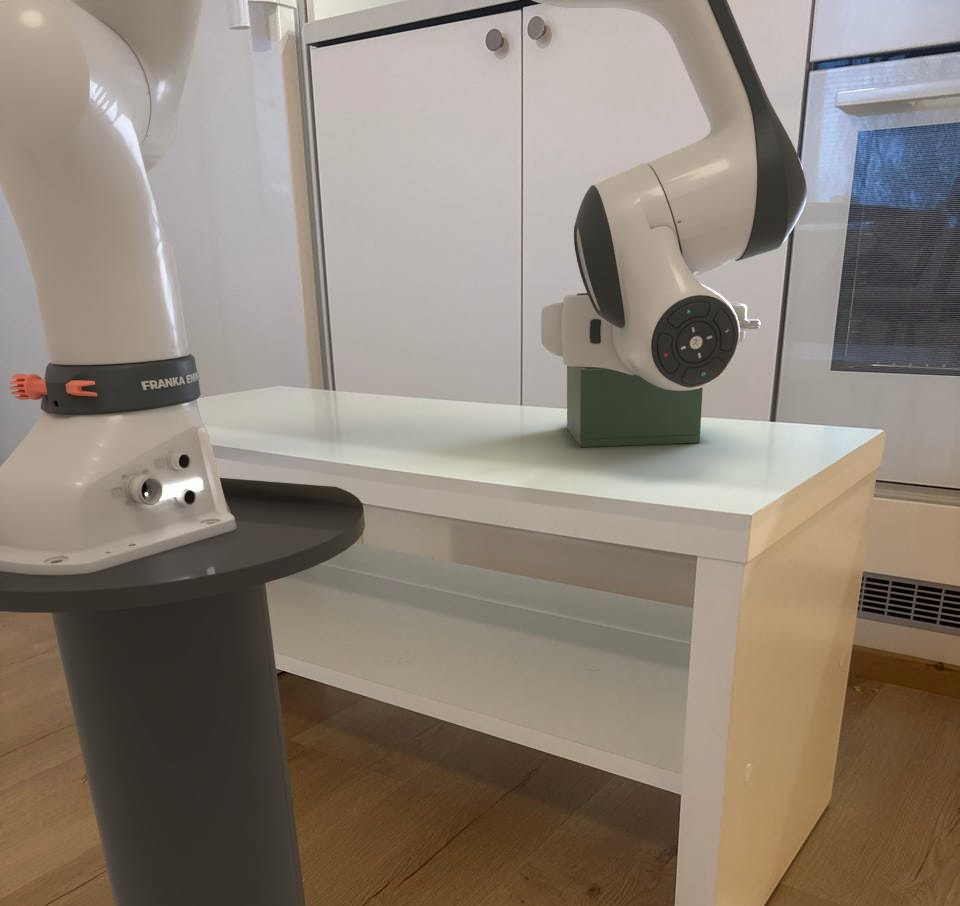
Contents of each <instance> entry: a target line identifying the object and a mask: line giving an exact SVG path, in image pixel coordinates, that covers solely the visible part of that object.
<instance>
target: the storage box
mask: <svg viewBox="0 0 960 906" xmlns="http://www.w3.org/2000/svg"><path fill="white" fill-rule="evenodd" d="M703 388H704V387H702V388H699V389H695V390H688V391H672V390H666V389H662V388H659V387H657V386H655V385H653V384H651V383H649V382H647V381H646V380H644V379H643V378H641V377H640V376H638V375H636V374H635V375H629V374H626V373H623V372H619V371H616V370H611V369H598V368H581V367H574V366H567V365H566V428H567V430H568V431H569V433H570V434H571V435H572V437H573V438H574V440H575V441H576V443H577V444H578V446H579V447H580V448H591V447H592V448H594V447H595V448H596V447H618V446H619V447H620V446H622V447H623V446H645V445H646V446H647V445H672V444H675V445H676V444H698V443H699V444H700V443H701V428H702V427H701V425H702V409H703V407H702V406H703V391H704V390H703Z"/></svg>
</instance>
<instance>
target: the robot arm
mask: <svg viewBox="0 0 960 906" xmlns="http://www.w3.org/2000/svg"><path fill="white" fill-rule="evenodd" d="M531 1H533V2H535V3H537V4H540V5H541V4H542V5H545V6H550V7H556V8H564V9H621V10H628V11H633V12H636V13H640V14H643V15H645V16H648V17H649V18H652V19H653V20H655V21H656V22H658V23H659V24H660V25H661V26H662V27H663V28H664V29H665V30H666V32H667V33H668V35H669V36H670V38H671V40H672V42H673V44H674V46H675V48H676V50H677V53H678V56H679V57H680V60H681V62H682V65H683V66H684V69H685V71H686V73H687V75H688V77H689V79H690V83H691V84H692V86H693V89H694V91H695V93H696V96H697V98H698V100H699V102H700V105H701V107H702V109H703V111H704V113H705V116H706V118H707V121H708V123H709V127H710V130H709V133H708V134H707V135H706V136H705V137H703V138H702V139H700V140H698V141H696V142H693V143H691V144H689V145H686V146H684V147H681V148H679V149H676V150H675V151H672V152H669V153H667V154H665V155H662V156H659V157H658V158H655V159H653V160H651V161H648V162H644V163H641V164H638V165H637V166H634V167H631V168H629V169H626V170H624V171H622V172H619V173H617V174H615V175H613V176H611V177H608V178H605V179H604V180H603V179H602V180H601V181H599V182H597V183H594V184H591V185H590V187H589V188H588V189H587V191H586V193H585V194H584V196H583V198H582V201H581V202H580V206H579V208H578V212H577V214H576V217H575V218H576V219H575V221H574V225H573V244H574V245H573V246H574V252H575V257H576V262H577V266H578V270H579V274H580V277H581V281H582V283H583V286H584V288H585V291H586V292H581V293H580V292H579V293H576V294H568V295H565V296H564V297H563V301H560V302H556V303H551V304H548V305H545V306H543V307H542V308H541V314H540V336H541V337H540V338H541V339H540V340H541V344H542V346H543V347H544V348H545V350H547V351H548V352H549V353H551V354H552V355H555V356H558V357H562V361H563V364H564V365H565V366H566V367H567V366H574V367H581V368H598V369H611V370H616V371H619V372H623V373H626V374H629V375H635V374H636V375H638V376H640V377H641V378H643V379H644V380H646V381H647V382H649V383H651V384H653V385H655V386H657V387H659V388H662V389H666V390H672V391H688V390H695V389H699V388H702V387H703V388H704V387H706V386H708V385H710V384H711V383H713V382H715V381H716V380H717V379H718V378H719V377H721V376H722V375H723V374H724V373H725V371H727V370H728V368H729V367H730V365H731V364H732V362H733V360H734V358H735V356H736V355H737V352H738V348H739V344H740V343H743V342H744V341H745V338H746V332H747V331H749V330H759V329H760V326H761V320H760V319H757V318H748V317H747V315H748V314H747V312H748V306H747V305H746V304H744V303H742V302H739V301H728V300H727V299H726V298H725V297H724V296H722V294H721V293H719V292H717V291H716V290H714V289H713V288H711V287H709V286H707V285H705V284H703V283H702V282H701V281H700V280H699V279H698V278H697V276H699V275H702V274H705V273H707V272H710V271H712V270H714V269H718V268H719V267H721V266H724V265H727V264H729V263H731V262H734V261H735V262H739V261H742V260H745V259H749V258H752V257H755V256H759V255H763V254H766V253H768V252H772V251H775V250H778V249H779V248H781V247H782V245H783V244H784V243H785V241H786V240H787V238H788V237H789V235H790V234H791V232H792V231H793V229H794V228H795V227H796V224H797V223H798V222H799V219H800V217H801V215H802V213H803V212H804V209H805V206H806V204H807V201H808V199H807V198H808V188H807V181H806V176H805V172H804V168H803V165H802V162H801V160H800V157H799V154H798V153H797V150H796V148H795V146H794V144H793V142H792V139H791V138H790V136H789V134H788V132H787V130H786V129H785V127H784V125H783V123H782V121H781V120H780V118H779V116H778V114H777V113H776V110H775V108H774V107H773V105H772V103H771V100H770V99H769V97H768V95H767V92H766V90H765V87H764V85H763V82H762V81H761V78H760V75H759V74H758V71H757V69H756V66H755V64H754V61H753V59H752V57H751V54H750V51H749V49H748V47H747V45H746V42H745V41H744V37H743V35H742V33H741V30H740V28H739V26H738V24H737V21H736V18H735V16H734V14H733V11H732V10H731V6H730V4H729V2H728V0H531ZM204 2H205V0H0V187H1V189H2V192H3V194H4V197H5V200H6V202H7V204H8V207H9V210H10V212H11V214H12V217H13V219H14V222H15V225H16V227H17V230H18V233H19V235H20V238H21V241H22V244H23V247H24V250H25V253H26V256H27V259H28V262H29V265H30V270H31V275H32V278H33V282H34V287H35V293H36V298H37V302H38V307H39V311H40V312H39V313H40V316H41V321H42V326H43V330H44V335H45V341H46V347H47V351H48V356H49V361H50V362H49V363H48V364H47V365H46V366H45V367H46V368H45V373H44V378H42V377H41V376H40V375H38V374H35V373H31V374H25V373H15V374H13V375H12V376H11V378H10V379H11V381H9V384H8V385H13V386H9V390H14V391H11V392H10V393H11V394H12V395H17V396H15V399H17V400H33V401H38V400H39V401H40V409H41V410H42V411H43V413H42V415H40V418H39V419H38V420H37V421H36V422H35V423H34V425H33V426H32V427H31V428H30V430H29V431H28V432H27V434H26V435H25V436H24V437H23V439H22V440H21V442H20V443H19V444H18V445H17V446H16V447H15V449H14V450H13V451H12V452H11V454H10V455H9V456H7V458H6V459H5V460H4V461H3V463H2V464H1V465H0V571H2V572H9V573H17V574H28V575H54V576H56V575H78V574H88V573H93V572H97V571H100V570H104V569H107V568H110V567H114V566H117V565H120V564H124V563H127V562H130V561H134V560H137V559H140V558H144V557H147V556H150V555H154V554H157V553H160V552H164V551H167V550H170V549H174V548H177V547H180V546H184V545H187V544H190V543H194V542H197V541H200V540H204V539H207V538H210V537H214V536H217V535H220V534H224V533H227V532H230V531H233V530H235V529H236V528H237V525H236V521H235V517H234V516H233V515H232V514H231V511H230V509H229V507H228V505H227V502H226V500H225V497H224V494H223V490H222V486H221V482H220V478H221V477H220V474H219V469H218V465H217V462H216V457H215V454H214V450H213V446H212V441H211V438H210V435H209V432H208V430H207V428H206V426H205V424H204V421H203V418H202V416H201V413H200V410H199V404H198V399H199V398H200V397H201V395H202V394H201V387H200V386H201V385H200V379H201V378H200V373H199V371H198V369H197V363H196V357H195V356H194V355H193V354H191V353H190V351H189V350H190V349H189V342H188V336H187V329H186V322H185V315H184V308H183V301H182V294H181V287H180V279H179V273H178V266H177V265H178V264H177V260H176V256H175V252H174V250H173V248H172V246H171V244H170V242H169V240H168V237H167V235H166V232H165V229H164V226H163V223H162V220H161V217H160V214H159V211H158V208H157V205H156V201H155V198H154V195H153V191H152V188H151V187H152V186H151V184H150V181H149V177H148V174H147V173H149V172H151V171H152V170H154V169H155V168H157V167H158V166H159V165H160V164H161V163H162V162H163V161H164V160H165V159H166V158H167V157H168V155H169V154H170V152H171V150H172V147H173V145H174V144H175V139H176V135H177V130H178V129H177V128H178V113H179V109H180V108H179V107H180V103H181V100H182V97H183V92H184V89H185V85H186V83H187V77H188V73H189V69H190V65H191V61H192V56H193V51H194V48H195V43H196V40H197V39H196V38H197V33H198V28H199V25H200V19H201V16H202V10H203V7H204Z"/></svg>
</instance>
